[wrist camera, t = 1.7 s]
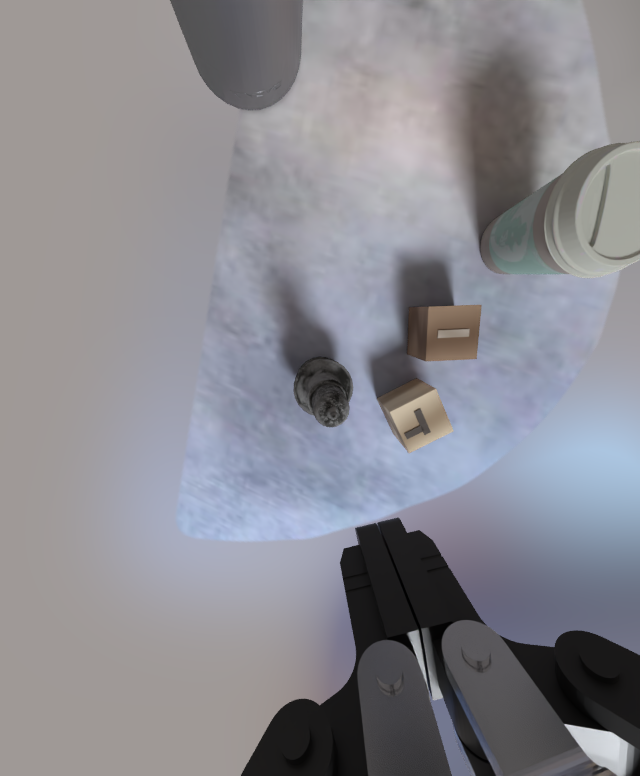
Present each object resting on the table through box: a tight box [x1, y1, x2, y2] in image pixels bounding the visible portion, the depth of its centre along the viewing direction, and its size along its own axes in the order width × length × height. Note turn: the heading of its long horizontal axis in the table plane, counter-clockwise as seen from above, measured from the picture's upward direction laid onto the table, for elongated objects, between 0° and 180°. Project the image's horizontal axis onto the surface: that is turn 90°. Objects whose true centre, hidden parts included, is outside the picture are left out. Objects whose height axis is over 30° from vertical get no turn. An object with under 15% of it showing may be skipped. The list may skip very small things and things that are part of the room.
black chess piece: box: [294, 357, 353, 427], centre depth 28 cm, size 6×6×12 cm
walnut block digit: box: [407, 305, 481, 361], centre depth 31 cm, size 5×5×5 cm
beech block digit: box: [377, 378, 453, 453], centre depth 33 cm, size 5×5×5 cm
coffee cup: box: [480, 141, 640, 278], centre depth 26 cm, size 8×8×12 cm
